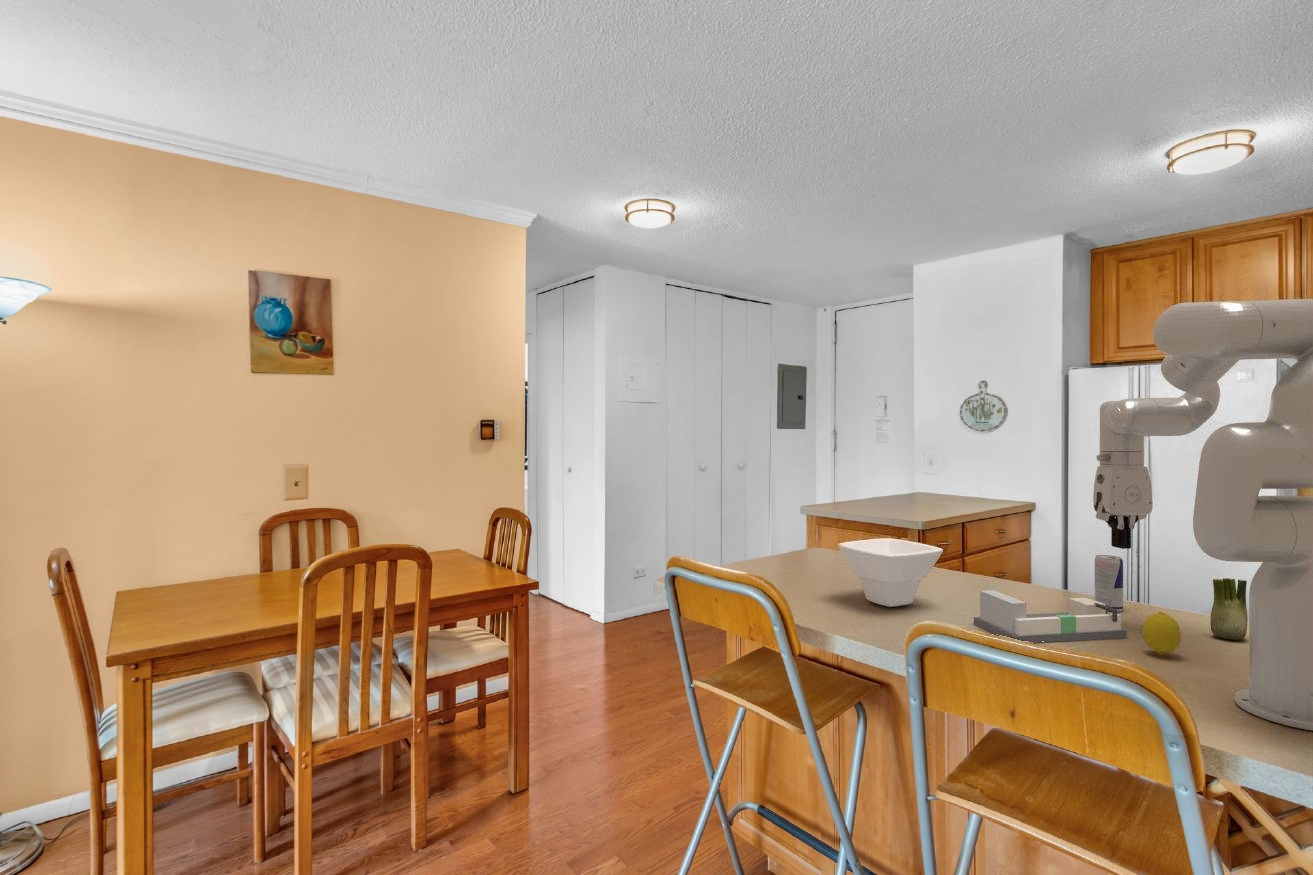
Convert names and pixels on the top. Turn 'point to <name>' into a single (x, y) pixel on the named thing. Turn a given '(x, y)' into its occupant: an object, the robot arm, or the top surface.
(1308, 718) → the robot arm
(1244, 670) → the top surface
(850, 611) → the top surface
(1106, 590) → the energy drink
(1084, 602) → the carriage
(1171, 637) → the lemon
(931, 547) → the bowl
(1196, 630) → the top surface
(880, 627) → the top surface
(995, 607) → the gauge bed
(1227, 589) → the fennel bulb
